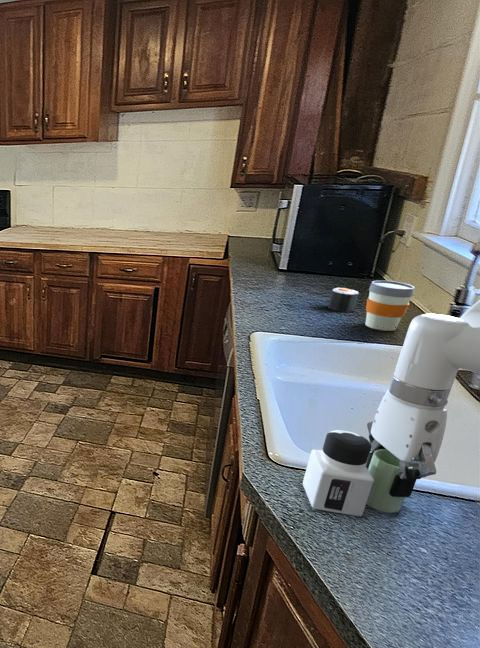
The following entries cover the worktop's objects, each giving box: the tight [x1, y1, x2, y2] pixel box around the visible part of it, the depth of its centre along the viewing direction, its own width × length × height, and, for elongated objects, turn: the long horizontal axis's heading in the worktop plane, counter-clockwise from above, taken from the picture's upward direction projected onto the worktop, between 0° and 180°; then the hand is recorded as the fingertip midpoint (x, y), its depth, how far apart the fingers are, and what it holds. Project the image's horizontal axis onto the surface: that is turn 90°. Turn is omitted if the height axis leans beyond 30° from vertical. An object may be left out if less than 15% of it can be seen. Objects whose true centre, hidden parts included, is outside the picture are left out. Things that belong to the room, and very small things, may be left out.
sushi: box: [327, 286, 360, 313], centre depth 203 cm, size 8×8×8 cm
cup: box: [366, 449, 413, 514], centre depth 92 cm, size 6×6×9 cm
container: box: [302, 429, 374, 518], centre depth 91 cm, size 8×8×13 cm
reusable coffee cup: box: [364, 280, 416, 332], centre depth 182 cm, size 13×13×15 cm
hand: (386, 483), depth 92 cm, fingers closed on cup, 6 cm apart
